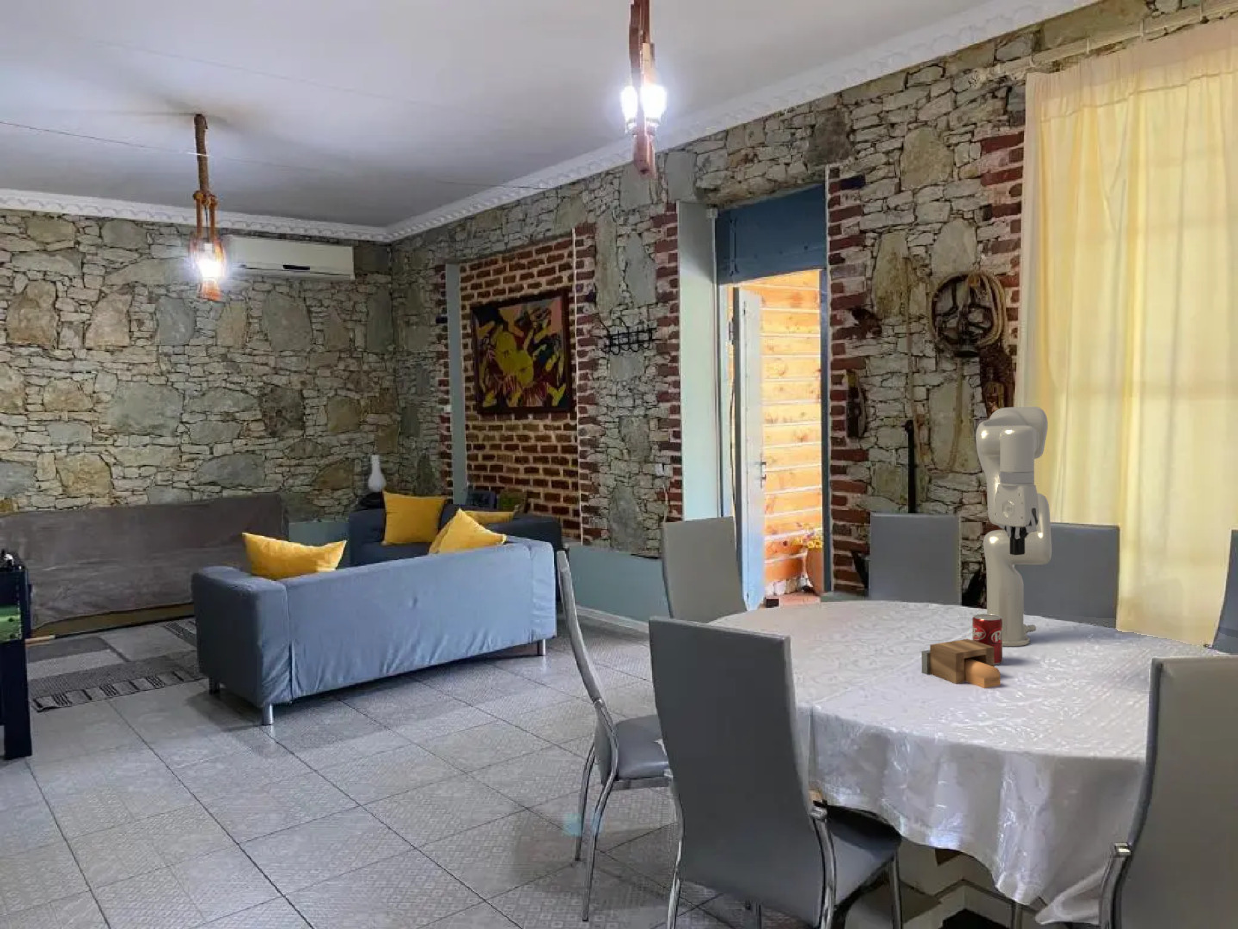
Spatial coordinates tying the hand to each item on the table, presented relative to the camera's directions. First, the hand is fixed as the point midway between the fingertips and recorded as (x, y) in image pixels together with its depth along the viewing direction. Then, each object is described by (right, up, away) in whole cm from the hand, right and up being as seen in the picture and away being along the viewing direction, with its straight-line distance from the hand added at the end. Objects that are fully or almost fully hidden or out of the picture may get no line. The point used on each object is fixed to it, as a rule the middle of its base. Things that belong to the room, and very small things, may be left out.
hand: (1017, 554), depth 221 cm
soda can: (0, -30, +18) cm, 35 cm away
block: (-11, -31, +7) cm, 34 cm away
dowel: (-9, -32, +3) cm, 33 cm away
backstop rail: (-13, -31, +12) cm, 35 cm away
